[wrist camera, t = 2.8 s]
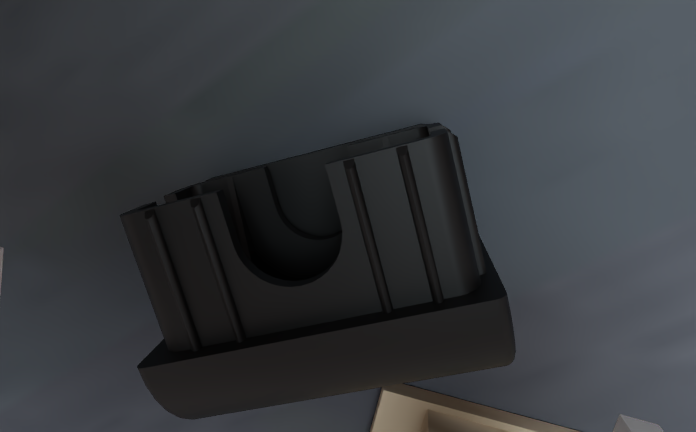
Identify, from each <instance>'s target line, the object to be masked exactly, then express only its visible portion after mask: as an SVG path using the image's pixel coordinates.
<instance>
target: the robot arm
mask: <svg viewBox="0 0 696 432" xmlns="http://www.w3.org/2000/svg"><path fill="white" fill-rule="evenodd" d="M3 249H4V248H2V247H0V294H1V279H2V264H3ZM613 432H664V431H663V429H662V428H661V427H660V425H658V424H654V423H650V422H647V421H643V420H639V419H636V418H632V417H628V416H625V415H621V414H620V415H619V417H618V420H617V422H616V424H615V427H614V429H613Z"/></svg>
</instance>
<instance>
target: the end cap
mask: <svg viewBox="0 0 696 432" xmlns="http://www.w3.org/2000/svg"><path fill="white" fill-rule="evenodd" d="M164 198H165V201H166V204H162V205H158V206H157V204H156V202H153V203H149V204H145V205H142V206H140V207H137V208H135V209H133V210H130V211H128V212H126V213H123V214H121V215H120V218H121V221H122V224H123V226H124V229H125V232H126V235H127V237H128V240H129V243H130V246H131V248H132V251H133V254H134V257H135V259H136V262H137V265H138V268H139V270H140V273H141V276H142V279H143V281H144V284H145V287H146V290H147V292H148V295H149V298H150V301H151V303H152V306H153V309H154V312H155V314H156V317H157V320H158V323H159V325H160V328H161V331H162V333H163V336H164V339H163V340H162V341H161V343H160V344H159V345H158V346H157V347H156V348H155V349H154V350H153V351H152V352H151V353H150V354H149V355H148V356H147V357H146V358H145V359H144V360H143V361H142V362H141V363H140V364H139V365H138V366H137V368H138V370H139V372H140V374H141V376H142V379H143V381H144V383H145V385H146V386H147V388H148V389H149V391H150V392H151V394H152V395H153V397H154V398H155V400H156V401H157V402H158V403H159V404H160V405H161V406H162V407H163V408H164V409H166V410H167V411H168V412H170V413H172V414H174V415H176V416H177V417H180V418H185V419H199V418H205V417H211V416H216V415H222V414H228V413H234V412H240V411H245V410H251V409H257V408H263V407H269V406H275V405H280V404H286V403H292V402H298V401H304V400H309V399H315V398H321V397H327V396H333V395H338V394H344V393H350V392H356V391H362V390H367V389H373V388H379V387H385V386H391V385H397V384H402V383H408V382H414V381H420V380H426V379H431V378H437V377H443V376H449V375H455V374H460V373H466V372H472V371H478V370H484V369H489V368H495V367H501V366H506V365H509V364H511V363H512V362H513V360H514V357H515V352H516V350H515V338H514V331H513V324H512V318H511V312H510V307H509V302H508V297H507V292H506V290H505V288H504V286H503V284H502V282H501V280H500V278H499V276H498V274H497V272H496V269H495V267H494V265H493V263H492V261H491V259H490V257H489V255H488V253H487V251H486V249H485V247H484V245H483V243H482V240H481V238H480V236H479V234H478V229H477V225H476V220H475V216H474V211H473V207H472V202H471V197H470V193H469V188H468V184H467V179H466V174H465V170H464V165H463V161H462V156H461V152H460V147H459V142H458V138H457V136H455V135H454V134H452V133H451V131H450V130H449V129H448V128H446V127H444V126H442V125H441V124H440V123H433V124H418V125H415V126H411V127H407V128H403V129H399V130H395V131H391V132H388V133H384V134H380V135H376V136H372V137H368V138H364V139H360V140H357V141H353V142H349V143H345V144H341V145H337V146H333V147H330V148H326V149H322V150H318V151H314V152H310V153H306V154H302V155H299V156H295V157H291V158H287V159H283V160H279V161H275V162H272V163H268V164H264V165H260V166H256V167H252V168H248V169H244V170H241V171H237V172H233V173H229V174H225V175H221V176H217V177H214V178H211V179H209V180H207V181H205V182H203V183H199V184H195V185H192V186H189V187H186V188H183V189H180V190H178V191H175V192H173V193H170V194H168V195H166V196H164Z"/></svg>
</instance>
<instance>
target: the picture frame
mask: <svg viewBox="0 0 696 432" xmlns="http://www.w3.org/2000/svg"><path fill="white" fill-rule="evenodd" d="M370 432H580V431H576V430H573V429H569V428H565V427H561V426H558V425H554V424H550V423H547V422H543V421H539V420H535V419H532V418H528V417H524V416H521V415H517V414H513V413H509V412H506V411H502V410H498V409H495V408H491V407H487V406H483V405H480V404H476V403H472V402H469V401H465V400H461V399H457V398H454V397H450V396H446V395H443V394H439V393H435V392H431V391H428V390H424V389H420V388H417V387H413V386H409V385H406V384H397V385H391V386H385V387H382V389H381V393H380V397H379V400H378V404H377V407H376V411H375V415H374V418H373V422H372V425H371V429H370Z"/></svg>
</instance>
